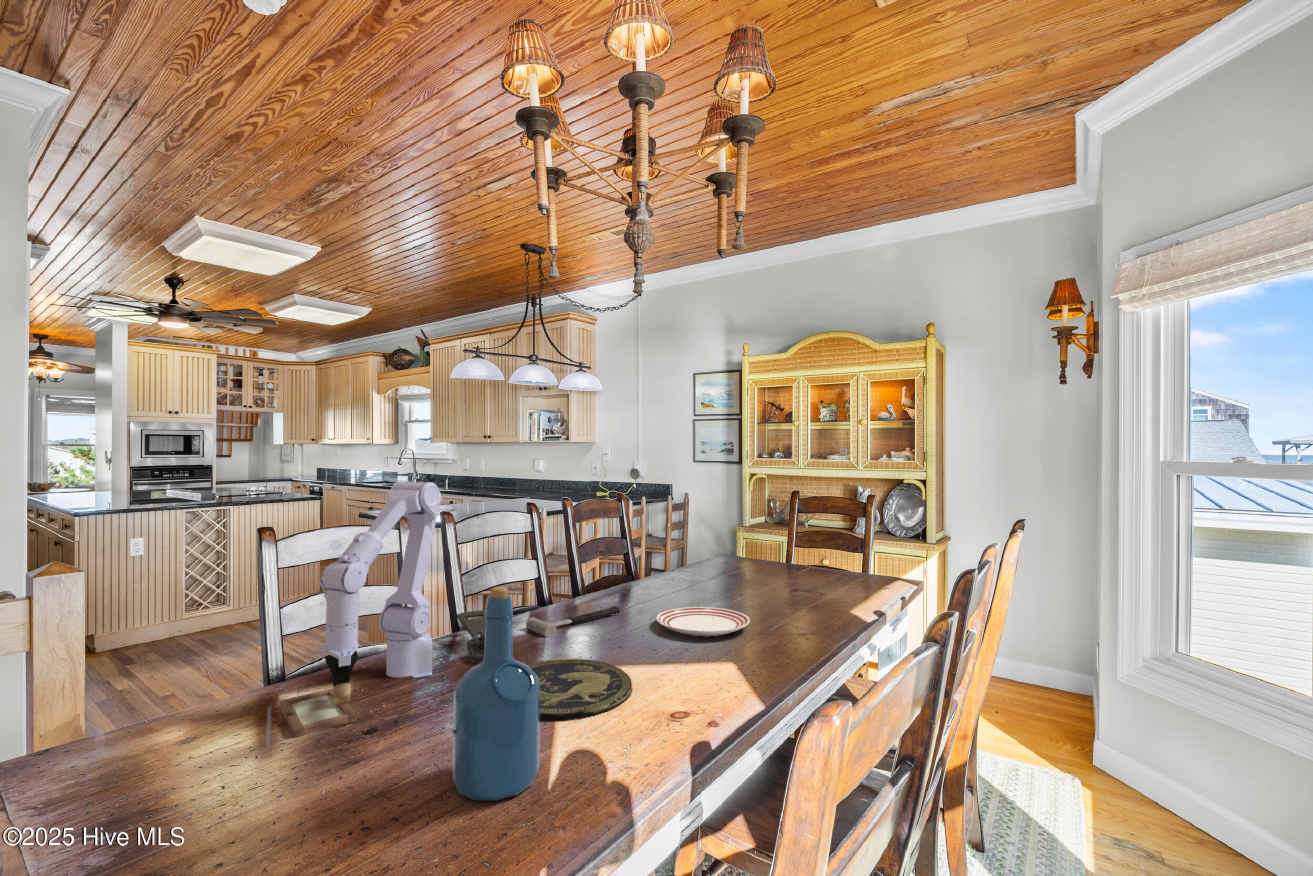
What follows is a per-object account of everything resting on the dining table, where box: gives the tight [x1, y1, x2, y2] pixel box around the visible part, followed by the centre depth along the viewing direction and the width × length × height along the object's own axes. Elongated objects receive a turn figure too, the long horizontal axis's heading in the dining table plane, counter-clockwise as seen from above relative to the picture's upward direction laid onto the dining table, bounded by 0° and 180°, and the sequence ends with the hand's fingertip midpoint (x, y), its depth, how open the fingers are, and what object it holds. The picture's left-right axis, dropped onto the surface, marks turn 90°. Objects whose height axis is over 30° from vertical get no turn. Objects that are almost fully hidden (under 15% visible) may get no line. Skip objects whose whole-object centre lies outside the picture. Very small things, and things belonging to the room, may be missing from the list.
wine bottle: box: [451, 586, 541, 802], centre depth 92 cm, size 14×13×30 cm
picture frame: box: [279, 682, 358, 739], centre depth 112 cm, size 11×16×4 cm
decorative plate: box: [525, 658, 633, 722], centre depth 127 cm, size 30×2×30 cm
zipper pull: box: [456, 610, 486, 665], centre depth 153 cm, size 9×7×25 cm
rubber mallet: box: [525, 605, 620, 638], centre depth 175 cm, size 10×4×30 cm
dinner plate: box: [655, 606, 751, 638], centre depth 172 cm, size 28×27×3 cm
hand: (340, 691), depth 117 cm, fingers closed
